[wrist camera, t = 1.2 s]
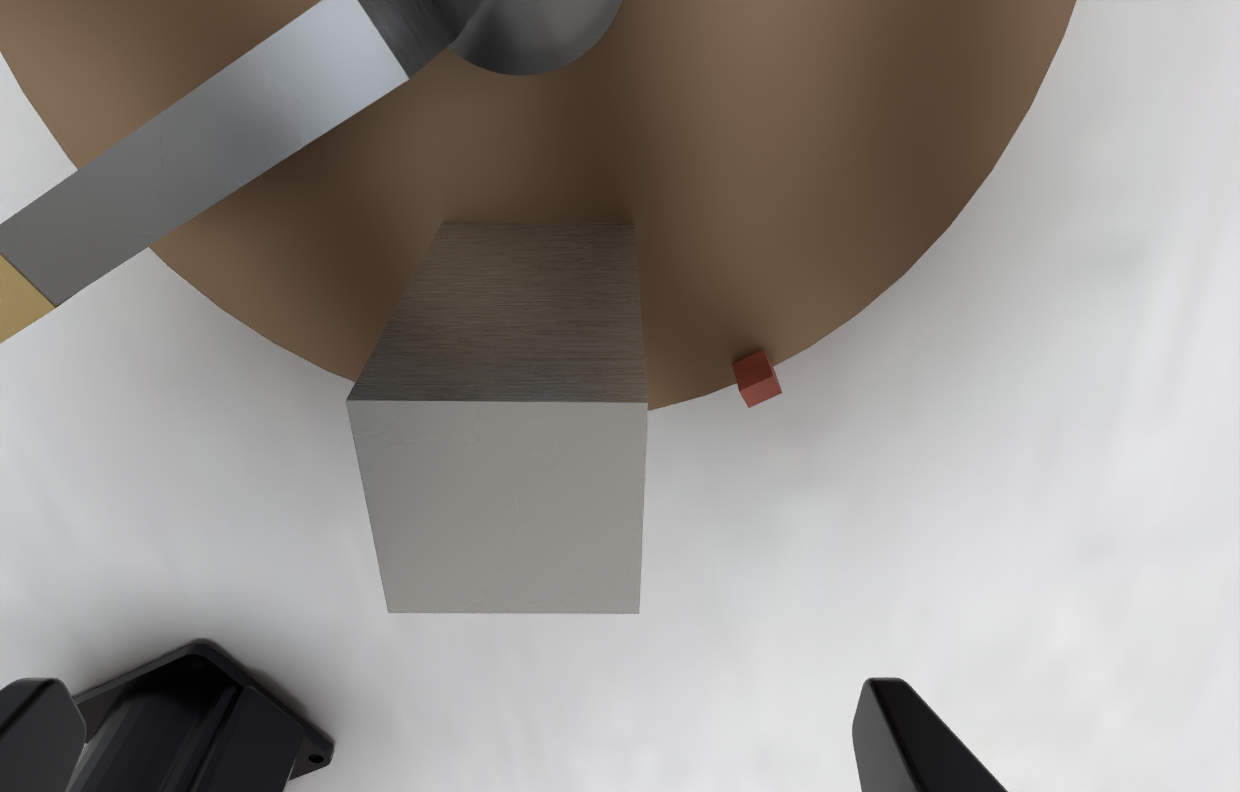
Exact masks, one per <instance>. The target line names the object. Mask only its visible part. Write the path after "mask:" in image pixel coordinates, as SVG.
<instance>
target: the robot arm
mask: <svg viewBox="0 0 1240 792" xmlns="http://www.w3.org/2000/svg"><path fill="white" fill-rule="evenodd" d="M852 737H853V746H854V751H855V757H856V762H857V768H858V773H859V779H860V784H861V789H862V792H1008V791H1007V790H1006V789H1005V788H1004V787H1003V786H1002V785H1001V784H1000V783H999V782H998V780H997V779H996V778H995V777H994V776H993V775H992V774H991V773H990V772H989V771H988V770H987V768H986V767H985V766H984V765H983V764H982V763H981V762H980V761H979V760H978V759H977V758H976V757H975V755H974V754H973V753H972V752H971V751H970V750H969V749H968V748H967V747H966V746H965V745H964V744H963V742H962V741H961V740H960V739H959V738H958V737H957V736H956V735H955V734H954V733H953V732H952V731H951V729H950V728H949V727H948V726H947V725H946V724H945V723H944V722H943V721H942V720H941V719H940V717H939V716H938V715H937V714H936V713H935V712H934V711H933V710H932V709H931V708H930V707H929V706H928V704H927V703H926V702H925V701H924V700H923V699H922V698H921V697H920V696H919V695H918V694H917V693H916V691H915V690H914V689H913V688H912V687H911V686H910V685H909V684H908V683H907V682H906V681H904V680H902V679H900V678H868V679H867V680H866V681H865V682H864V684H863V687H862V691H861V694H860V698H859V702H858V705H857V709H856V713H855V716H854V720H853V726H852ZM85 743H87V746H86V747H85V749H84V750H83V747H84V744H85ZM82 750H83V752H82ZM81 752H82V754H81ZM333 753H334V746H333V745H332V744H331V743H330V742H329V741H327V740H326V739H325V738H324V737H322V736H321V735H320V734H319V733H317V732H316V731H315V730H314V729H312V728H311V727H310V726H309V725H308V724H306V723H305V722H304V721H303V720H301V719H300V718H299V717H298V716H296V715H295V714H294V713H293V712H291V711H290V710H289V709H288V708H287V707H285V706H284V705H283V704H282V703H280V702H279V701H278V700H277V699H275V698H274V697H273V696H272V695H271V694H269V693H268V692H267V691H266V690H264V689H263V688H262V687H261V686H259V685H258V684H257V683H256V682H254V681H253V680H252V679H251V678H250V677H248V676H247V675H246V674H245V673H243V672H242V671H241V670H240V669H238V668H237V667H236V666H235V665H233V664H232V663H231V662H230V661H229V660H227V659H226V658H225V657H224V656H222V655H221V654H220V653H219V652H217V651H216V650H215V649H214V648H212V647H210V646H208V645H205V644H192V645H189V646H187V647H185V648H182V649H180V650H178V651H176V652H174V653H172V654H169V655H167V656H165V657H163V658H161V659H159V660H156V661H154V662H152V663H150V664H148V665H145V666H143V667H141V668H139V669H137V670H135V671H132V672H130V673H128V674H126V675H124V676H122V677H119V678H117V679H115V680H113V681H111V682H108V683H106V684H104V685H102V686H100V687H98V688H95V689H93V690H91V691H89V692H87V693H85V694H82V695H80V696H78V697H76V698H74V699H73V698H72V696H71V694H70V693H69V691H68V689H67V687H66V685H65V684H64V683H63V682H62V681H61V680H59V679H57V678H23V679H19V680H16V681H14V682H12V683H10V684H9V685H7V686H6V687H4V688H3V689H1V690H0V792H284V791H285V788H286V785H287V783H288V781H289V780H292V779H294V778H297V777H300V776H302V775H305V774H307V773H310V772H313V771H315V770H318V769H320V768H323V767H326V766H327V765H329V764H330V762H331V760H332V756H333Z"/></svg>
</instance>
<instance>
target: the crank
mask: <svg viewBox="0 0 1240 792" xmlns="http://www.w3.org/2000/svg"><path fill="white" fill-rule="evenodd" d="M622 1H623V0H322V1H320V2H319V3H318V4H316V5H315V6H313V7H312V8H310V9H309V10H307V11H306V12H305V13H303V14H302V15H300V16H299V17H297V18H296V19H295V20H293V21H292V22H290V23H289V24H287V25H286V26H285V27H283V28H282V29H280V30H279V31H277V32H276V33H274V34H273V35H272V36H270V37H269V38H267V39H266V40H264V41H263V42H262V43H260V44H259V45H257V46H256V47H254V48H253V49H252V50H250V51H249V52H247V53H246V54H244V55H243V56H241V57H240V58H239V59H237V60H236V61H234V62H233V63H231V64H230V65H229V66H227V67H226V68H224V69H223V70H221V71H220V72H219V73H217V74H216V75H214V76H213V77H211V78H210V79H208V80H207V81H206V82H204V83H203V84H201V85H200V86H198V87H197V88H196V89H194V90H193V91H191V92H190V93H188V94H187V95H186V96H184V97H183V98H181V99H180V100H178V101H177V102H175V103H174V104H173V105H171V106H170V107H168V108H167V109H165V110H164V111H163V112H161V113H160V114H158V115H157V116H155V117H154V118H153V119H151V120H150V121H148V122H147V123H145V124H144V125H142V126H141V127H140V128H138V129H137V130H135V131H134V132H132V133H131V134H130V135H128V136H127V137H125V138H124V139H122V140H121V141H120V142H118V143H117V144H115V145H114V146H112V147H111V148H110V149H108V150H107V151H105V152H104V153H102V154H101V155H99V156H98V157H97V158H95V159H94V160H92V161H91V162H89V163H88V164H87V165H85V166H84V167H82V168H81V169H79V170H78V171H77V172H75V173H74V174H72V175H71V176H69V177H68V178H66V179H65V180H64V181H62V182H61V183H59V184H58V185H56V186H55V187H54V188H52V189H51V190H49V191H48V192H46V193H45V194H44V195H42V196H41V197H39V198H38V199H36V200H35V201H33V202H32V203H31V204H29V205H28V206H26V207H25V208H23V209H22V210H21V211H19V212H18V213H16V214H15V215H13V216H12V217H11V218H9V219H8V220H6V221H5V222H3V223H2V224H0V343H2V342H3V341H5V340H7V339H8V338H10V337H11V336H13V335H14V334H16V333H18V332H19V331H21V330H22V329H24V328H25V327H27V326H28V325H30V324H32V323H33V322H35V321H36V320H38V319H39V318H41V317H42V316H44V315H46V314H47V313H49V312H50V311H52V310H53V309H55V308H56V307H58V306H59V305H61V304H62V303H63V302H65V301H66V300H67V299H69V298H70V297H72V296H73V295H74V294H76V293H77V292H79V291H80V290H82V289H83V288H85V287H86V286H88V285H89V284H91V283H92V282H94V281H96V280H97V279H99V278H100V277H102V276H103V275H105V274H106V273H108V272H110V271H111V270H113V269H114V268H116V267H117V266H119V265H120V264H122V263H124V262H125V261H127V260H128V259H130V258H131V257H133V256H134V255H136V254H138V253H139V252H141V251H142V250H144V249H145V248H147V247H149V246H150V245H152V244H153V243H155V242H156V241H158V240H159V239H161V238H163V237H164V236H166V235H167V234H169V233H170V232H172V231H173V230H175V229H177V228H178V227H180V226H181V225H183V224H184V223H186V222H187V221H189V220H191V219H192V218H194V217H195V216H197V215H198V214H200V213H201V212H203V211H205V210H206V209H208V208H209V207H211V206H212V205H214V204H215V203H217V202H219V201H220V200H222V199H223V198H225V197H226V196H228V195H229V194H231V193H233V192H234V191H236V190H237V189H239V188H240V187H242V186H243V185H245V184H247V183H248V182H250V181H251V180H253V179H254V178H256V177H258V176H259V175H261V174H262V173H264V172H265V171H267V170H268V169H270V168H272V167H273V166H275V165H276V164H278V163H279V162H281V161H282V160H284V159H286V158H287V157H289V156H290V155H292V154H293V153H295V152H296V151H298V150H300V149H301V148H303V147H304V146H306V145H307V144H309V143H310V142H312V141H314V140H315V139H317V138H318V137H320V136H321V135H323V134H324V133H326V132H328V131H329V130H331V129H332V128H334V127H335V126H337V125H338V124H340V123H342V122H343V121H345V120H346V119H348V118H349V117H351V116H353V115H354V114H356V113H357V112H359V111H360V110H362V109H363V108H365V107H367V106H368V105H370V104H371V103H373V102H374V101H376V100H377V99H379V98H381V97H382V96H384V95H385V94H387V93H388V92H390V91H391V90H393V89H395V88H396V87H398V86H399V85H401V84H402V83H404V82H405V81H407V80H409V79H410V78H411V77H412V76H413V75H415V74H416V73H417V72H418V71H419V70H421V69H422V68H423V67H424V66H425V65H426V64H428V63H429V62H430V61H431V60H432V59H433V58H435V57H436V56H437V55H438V54H439V53H440V52H442V51H443V50H444V49H445V48H446V47H447V48H448V49H450V50H451V51H452V52H454V53H455V54H457V55H458V56H459V57H461V58H462V59H464V60H466V61H468V62H470V63H472V64H474V65H475V66H478V67H480V68H483V69H486V70H488V71H491V72H496V73H500V74H505V75H516V76H526V75H537V74H542V73H547V72H550V71H553V70H556V69H559V68H562V67H564V66H565V65H567V64H569V63H571V62H573V61H575V60H576V59H578V58H579V57H581V56H582V55H583V54H585V53H586V52H587V51H588V50H589V49H590V48H592V47H593V46H594V45H595V44H596V43H597V42H598V41H599V39H600V38H601V37H602V36H603V34H604V33H605V32H606V31H607V29H608V28H609V26H610V25H611V23H612V21H613V20H614V18H615V16H616V14H617V12H618V10H619V8H620V6H621V3H622Z"/></svg>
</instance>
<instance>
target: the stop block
mask: <svg viewBox="0 0 1240 792" xmlns="http://www.w3.org/2000/svg"><path fill="white" fill-rule="evenodd" d="M346 403H347V408H348V413H349V418H350V423H351V428H352V433H353V438H354V443H355V448H356V453H357V458H358V463H359V468H360V473H361V478H362V483H363V488H364V493H365V498H366V503H367V508H368V513H369V518H370V523H371V528H372V533H373V538H374V543H375V548H376V553H377V558H378V563H379V569H380V574H381V579H382V584H383V589H384V594H385V599H386V604H387V609H388V613H607V614H639V605H640V580H641V556H642V531H643V507H644V482H645V458H646V434H647V409H648V399H647V386H646V373H645V360H644V346H643V333H642V320H641V307H640V293H639V280H638V267H637V254H636V240H635V227H634V224H622V223H537V222H451V221H442V223H441V225H440V226H439V228H438V230H437V232H436V234H435V236H434V238H433V239H432V241H431V243H430V245H429V247H428V249H427V251H426V252H425V254H424V256H423V258H422V260H421V262H420V264H419V266H418V267H417V269H416V271H415V273H414V275H413V277H412V279H411V280H410V282H409V284H408V286H407V288H406V290H405V292H404V293H403V295H402V297H401V299H400V301H399V303H398V305H397V306H396V308H395V310H394V312H393V314H392V316H391V318H390V319H389V321H388V323H387V325H386V327H385V329H384V331H383V333H382V334H381V336H380V338H379V340H378V342H377V344H376V346H375V347H374V349H373V351H372V353H371V355H370V357H369V359H368V360H367V362H366V364H365V366H364V368H363V370H362V372H361V373H360V375H359V377H358V379H357V381H356V383H355V385H354V387H353V388H352V390H351V392H350V394H349V396H348V398H347V400H346Z"/></svg>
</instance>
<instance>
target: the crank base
mask: <svg viewBox="0 0 1240 792" xmlns="http://www.w3.org/2000/svg"><path fill="white" fill-rule="evenodd" d="M320 1H322V0H0V51H1V53H2V55H3V57H4V58H5V60H6V62H7V64H8V66H9V67H10V69H11V71H12V73H13V75H14V76H15V78H16V80H17V82H18V84H19V85H20V87H21V89H22V91H23V93H24V94H25V95H26V97H27V98H28V100H29V101H30V103H31V104H32V106H33V107H34V109H35V110H36V111H37V113H38V114H39V116H40V117H41V119H42V120H43V122H44V123H45V124H46V126H47V127H48V129H49V130H50V132H51V133H52V135H53V136H54V138H55V139H56V140H57V142H58V143H59V145H60V146H61V148H62V149H63V151H64V152H65V154H66V155H67V156H68V158H69V159H70V160H71V162H72V163H73V164H74V165H75V166H76V167H77V169H78V170H79V169H81V168H82V167H84V166H85V165H87V164H88V163H89V162H91V161H92V160H94V159H95V158H97V157H98V156H99V155H101V154H102V153H104V152H105V151H107V150H108V149H110V148H111V147H112V146H114V145H115V144H117V143H118V142H120V141H121V140H122V139H124V138H125V137H127V136H128V135H130V134H131V133H132V132H134V131H135V130H137V129H138V128H140V127H141V126H142V125H144V124H145V123H147V122H148V121H150V120H151V119H153V118H154V117H155V116H157V115H158V114H160V113H161V112H163V111H164V110H165V109H167V108H168V107H170V106H171V105H173V104H174V103H175V102H177V101H178V100H180V99H181V98H183V97H184V96H186V95H187V94H188V93H190V92H191V91H193V90H194V89H196V88H197V87H198V86H200V85H201V84H203V83H204V82H206V81H207V80H208V79H210V78H211V77H213V76H214V75H216V74H217V73H219V72H220V71H221V70H223V69H224V68H226V67H227V66H229V65H230V64H231V63H233V62H234V61H236V60H237V59H239V58H240V57H241V56H243V55H244V54H246V53H247V52H249V51H250V50H252V49H253V48H254V47H256V46H257V45H259V44H260V43H262V42H263V41H264V40H266V39H267V38H269V37H270V36H272V35H273V34H274V33H276V32H277V31H279V30H280V29H282V28H283V27H285V26H286V25H287V24H289V23H290V22H292V21H293V20H295V19H296V18H297V17H299V16H300V15H302V14H303V13H305V12H306V11H307V10H309V9H310V8H312V7H313V6H315V5H316V4H318V3H319V2H320ZM1075 3H1076V0H623V1H622V3H621V6H620V8H619V10H618V12H617V14H616V16H615V18H614V20H613V21H612V23H611V25H610V26H609V28H608V29H607V31H606V32H605V33H604V34H603V36H602V37H601V38H600V39H599V41H598V42H597V43H596V44H595V45H594V46H593V47H592V48H590V49H589V50H588V51H587V52H586V53H585V54H583V55H582V56H581V57H579V58H578V59H576V60H575V61H573V62H571V63H569V64H567V65H565V66H564V67H562V68H559V69H556V70H553V71H550V72H547V73H542V74H537V75H526V76H516V75H505V74H500V73H496V72H491V71H488V70H486V69H483V68H480V67H478V66H475V65H474V64H472V63H470V62H468V61H466V60H464V59H462V58H461V57H459V56H458V55H457V54H455V53H454V52H452V51H451V50H450V49H448V48H447V47H446V48H445V49H444V50H443V51H442V52H440V53H439V54H438V55H437V56H436V57H435V58H433V59H432V60H431V61H430V62H429V63H428V64H426V65H425V66H424V67H423V68H422V69H421V70H419V71H418V72H417V73H416V74H415V75H413V76H412V77H411V78H410V79H409V80H407V81H405V82H404V83H402V84H401V85H399V86H398V87H396V88H395V89H393V90H391V91H390V92H388V93H387V94H385V95H384V96H382V97H381V98H379V99H377V100H376V101H374V102H373V103H371V104H370V105H368V106H367V107H365V108H363V109H362V110H360V111H359V112H357V113H356V114H354V115H353V116H351V117H349V118H348V119H346V120H345V121H343V122H342V123H340V124H338V125H337V126H335V127H334V128H332V129H331V130H329V131H328V132H326V133H324V134H323V135H321V136H320V137H318V138H317V139H315V140H314V141H312V142H310V143H309V144H307V145H306V146H304V147H303V148H301V149H300V150H298V151H296V152H295V153H293V154H292V155H290V156H289V157H287V158H286V159H284V160H282V161H281V162H279V163H278V164H276V165H275V166H273V167H272V168H270V169H268V170H267V171H265V172H264V173H262V174H261V175H259V176H258V177H256V178H254V179H253V180H251V181H250V182H248V183H247V184H245V185H243V186H242V187H240V188H239V189H237V190H236V191H234V192H233V193H231V194H229V195H228V196H226V197H225V198H223V199H222V200H220V201H219V202H217V203H215V204H214V205H212V206H211V207H209V208H208V209H206V210H205V211H203V212H201V213H200V214H198V215H197V216H195V217H194V218H192V219H191V220H189V221H187V222H186V223H184V224H183V225H181V226H180V227H178V228H177V229H175V230H173V231H172V232H170V233H169V234H167V235H166V236H164V237H163V238H161V239H159V240H158V241H156V242H155V243H153V244H152V245H150V246H149V248H150V249H151V250H153V251H154V252H155V253H156V254H157V255H158V256H159V257H160V258H161V259H162V260H163V261H164V262H165V263H166V264H167V265H168V266H169V267H170V268H171V269H173V270H174V271H175V272H176V273H178V274H179V275H180V276H181V277H183V278H184V279H185V280H186V281H188V282H189V283H190V284H191V285H193V286H194V287H195V288H196V289H198V290H199V291H200V292H201V293H202V294H204V295H205V296H206V297H207V298H209V299H210V300H211V301H212V302H214V303H215V304H216V305H217V306H219V307H220V308H221V309H223V310H224V311H226V312H227V313H229V314H230V315H232V316H233V317H235V318H237V319H238V320H240V321H241V322H243V323H244V324H246V325H247V326H249V327H250V328H252V329H253V330H255V331H256V332H258V333H259V334H261V335H262V336H264V337H266V338H267V339H269V340H270V341H272V342H273V343H275V344H277V345H279V346H281V347H283V348H284V349H286V350H288V351H290V352H292V353H294V354H296V355H298V356H300V357H302V358H304V359H306V360H308V361H309V362H311V363H313V364H315V365H317V366H319V367H321V368H323V369H325V370H327V371H329V372H331V373H334V374H336V375H339V376H342V377H344V378H347V379H349V380H352V381H354V382H356V381H357V379H358V377H359V375H360V373H361V372H362V370H363V368H364V366H365V364H366V362H367V360H368V359H369V357H370V355H371V353H372V351H373V349H374V347H375V346H376V344H377V342H378V340H379V338H380V336H381V334H382V333H383V331H384V329H385V327H386V325H387V323H388V321H389V319H390V318H391V316H392V314H393V312H394V310H395V308H396V306H397V305H398V303H399V301H400V299H401V297H402V295H403V293H404V292H405V290H406V288H407V286H408V284H409V282H410V280H411V279H412V277H413V275H414V273H415V271H416V269H417V267H418V266H419V264H420V262H421V260H422V258H423V256H424V254H425V252H426V251H427V249H428V247H429V245H430V243H431V241H432V239H433V238H434V236H435V234H436V232H437V230H438V228H439V226H440V225H441V223H442V221H451V222H537V223H622V224H634V227H635V240H636V254H637V267H638V280H639V293H640V307H641V320H642V333H643V346H644V360H645V373H646V386H647V399H648V409H647V411H648V410H654V409H657V408H661V407H665V406H668V405H672V404H676V403H679V402H683V401H687V400H690V399H694V398H698V397H701V396H705V395H708V394H710V393H713V392H715V391H718V390H720V389H723V388H725V387H728V386H730V385H733V384H735V383H737V384H738V388H739V391H740V393H741V395H742V397H743V399H744V400H745V402H746V404H747V406H748V407H749V408H750V407H752V406H754V405H756V404H758V403H761V402H763V401H765V400H767V399H769V398H772V397H774V396H776V395H778V394H781V393H782V391H781V388H780V386H779V383H778V380H777V377H776V374H775V372H774V369H773V366H775V365H777V364H779V363H780V362H782V361H784V360H786V359H788V358H790V357H792V356H794V355H795V354H797V353H799V352H801V351H803V350H805V349H807V348H809V347H810V346H811V345H813V344H814V343H816V342H817V341H819V340H820V339H822V338H823V337H825V336H826V335H828V334H829V333H831V332H832V331H833V330H835V329H836V328H838V327H839V326H841V325H842V324H844V323H845V322H847V321H848V320H850V319H851V318H853V317H854V316H855V315H857V314H858V313H859V312H861V311H862V310H863V309H864V308H865V307H866V306H868V305H869V304H870V303H871V302H872V301H873V300H875V299H876V298H877V297H878V296H879V295H880V294H882V293H883V292H884V291H885V290H886V289H887V288H889V287H890V286H891V285H892V284H893V283H894V282H896V281H897V280H898V279H899V278H900V277H902V276H903V275H904V274H905V273H906V272H907V271H908V270H909V269H910V268H911V267H912V266H913V264H914V263H915V262H916V261H917V260H918V259H919V258H920V257H921V256H922V255H923V254H924V253H925V252H926V251H927V250H928V249H929V247H930V246H931V245H932V244H933V243H934V242H935V241H936V240H937V239H938V238H939V237H940V236H941V235H942V234H943V233H944V232H945V231H946V229H947V228H948V227H949V226H950V225H951V224H952V222H953V221H954V220H955V218H956V217H957V216H958V215H959V213H960V212H961V211H962V209H963V208H964V207H965V205H966V204H967V203H968V201H969V200H970V199H971V197H972V196H973V195H974V193H975V192H976V191H977V190H978V188H979V187H980V186H981V184H982V183H983V182H984V180H985V179H986V178H987V176H988V175H989V174H990V172H991V171H992V170H993V168H994V166H995V165H996V163H997V161H998V160H999V158H1000V156H1001V155H1002V153H1003V151H1004V150H1005V148H1006V146H1007V145H1008V143H1009V141H1010V140H1011V138H1012V137H1013V135H1014V133H1015V132H1016V130H1017V128H1018V127H1019V125H1020V123H1021V122H1022V120H1023V118H1024V117H1025V115H1026V113H1027V112H1028V110H1029V108H1030V107H1031V105H1032V102H1033V100H1034V98H1035V96H1036V94H1037V92H1038V90H1039V88H1040V85H1041V83H1042V81H1043V79H1044V77H1045V75H1046V73H1047V71H1048V68H1049V66H1050V64H1051V62H1052V60H1053V58H1054V56H1055V54H1056V51H1057V49H1058V47H1059V45H1060V43H1061V41H1062V39H1063V37H1064V34H1065V31H1066V28H1067V26H1068V23H1069V20H1070V17H1071V14H1072V11H1073V8H1074V5H1075Z"/></svg>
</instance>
